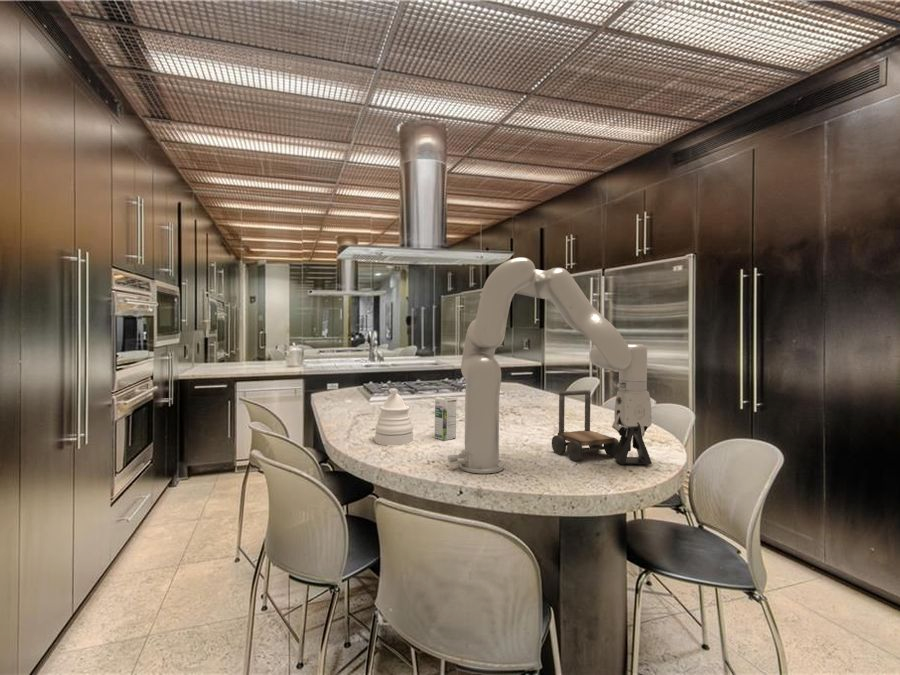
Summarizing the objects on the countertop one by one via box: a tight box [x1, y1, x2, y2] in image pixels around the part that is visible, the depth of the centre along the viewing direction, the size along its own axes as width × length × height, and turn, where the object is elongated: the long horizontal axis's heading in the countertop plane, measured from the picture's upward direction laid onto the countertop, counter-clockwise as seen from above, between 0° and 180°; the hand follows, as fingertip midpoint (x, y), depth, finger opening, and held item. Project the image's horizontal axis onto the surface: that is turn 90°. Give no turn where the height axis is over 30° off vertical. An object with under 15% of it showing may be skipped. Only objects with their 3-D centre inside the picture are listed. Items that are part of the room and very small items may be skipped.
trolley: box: [551, 389, 620, 462], centre depth 142 cm, size 15×14×19 cm
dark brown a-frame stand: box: [613, 422, 653, 465], centre depth 134 cm, size 9×6×12 cm, turn 84°
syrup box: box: [433, 396, 458, 441], centre depth 163 cm, size 6×6×14 cm
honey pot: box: [374, 388, 414, 446], centre depth 158 cm, size 13×13×18 cm
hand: (631, 448), depth 134 cm, fingers closed on dark brown a-frame stand, 3 cm apart
